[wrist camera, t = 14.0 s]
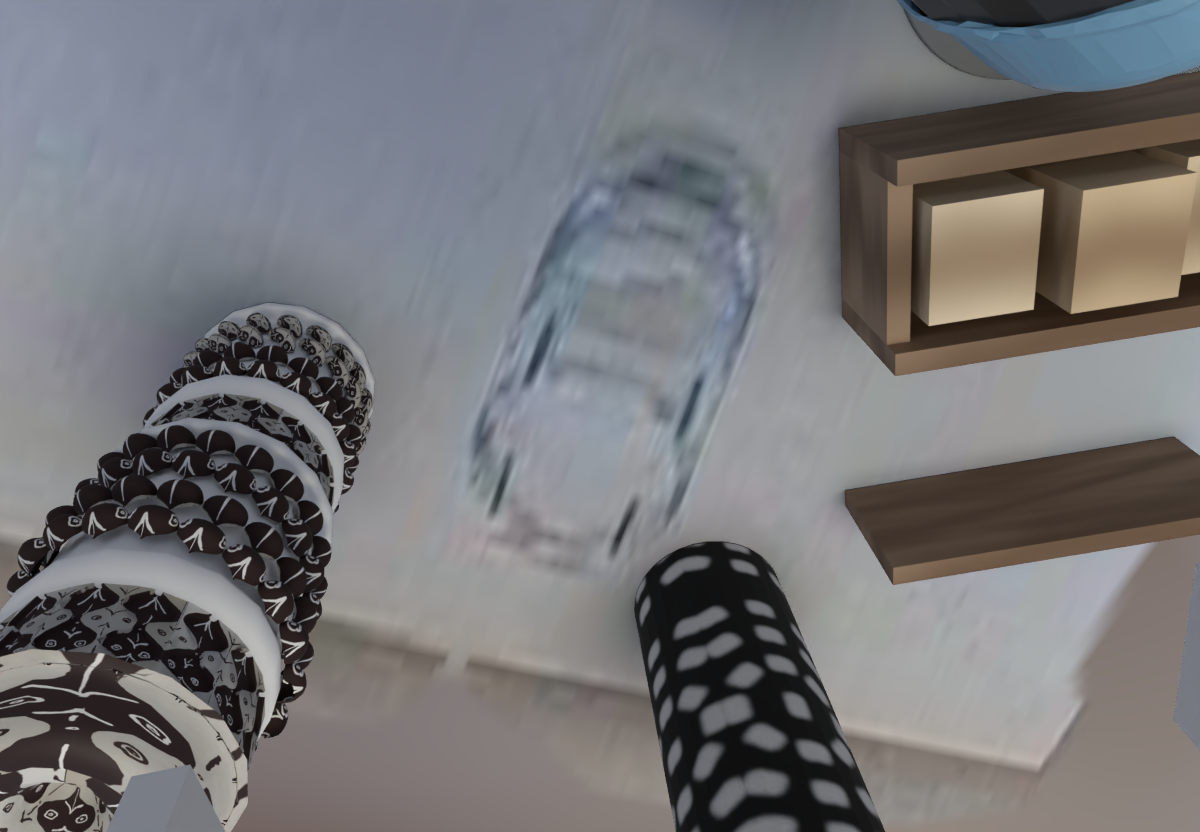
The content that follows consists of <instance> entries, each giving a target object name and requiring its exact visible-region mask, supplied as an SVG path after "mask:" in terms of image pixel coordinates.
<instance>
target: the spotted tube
mask: <svg viewBox="0 0 1200 832" xmlns="http://www.w3.org/2000/svg"><path fill="white" fill-rule="evenodd" d="M634 611H635V617H636V623H637V628H638V633H639V639H640V644H641V649H642V655H643V660H644V665H645V671H646V676H647V681H648V687H649V692H650V697H651V703H652V708H653V713H654V719H655V724H656V729H657V735H658V740H659V745H660V751H661V756H662V761H663V767H664V772H665V777H666V783H667V788H668V793H669V799H670V804H671V809H672V814H673V819H674V825H675V830H676V832H885V830H884V828H883V825H882V823H881V821H880V818H879V816H878V814H877V811H876V809H875V807H874V804H873V802H872V799H871V797H870V795H869V792H868V790H867V788H866V785H865V783H864V781H863V778H862V776H861V774H860V771H859V769H858V767H857V764H856V762H855V759H854V757H853V755H852V752H851V750H850V748H849V745H848V743H847V741H846V738H845V736H844V734H843V731H842V729H841V726H840V724H839V722H838V719H837V717H836V715H835V712H834V710H833V708H832V705H831V703H830V701H829V698H828V696H827V694H826V691H825V689H824V686H823V684H822V682H821V679H820V677H819V675H818V672H817V670H816V668H815V665H814V663H813V661H812V658H811V656H810V653H809V651H808V649H807V646H806V644H805V642H804V639H803V637H802V635H801V632H800V630H799V628H798V625H797V623H796V621H795V618H794V616H793V613H792V611H791V609H790V606H789V604H788V602H787V599H786V597H785V595H784V592H783V590H782V588H781V585H780V583H779V580H778V578H777V576H776V574H775V572H774V570H773V569H772V567H771V566H770V564H769V563H768V562H767V561H766V560H765V559H763V558H762V557H761V556H760V555H759V554H757V553H755V552H754V551H752V550H750V549H748V548H745V547H743V546H740V545H737V544H731V543H725V542H706V543H701V544H695V545H691V546H688V547H685V548H682V549H680V550H677V551H676V552H674V553H672V554H670V555H668V556H666V557H665V558H664V559H662V560H661V561H660V562H659V563H657V564H656V565H655V566H654V567H653V568H652V569H651V570H650V571H649V573H648V574H647V575H646V576H645V578H644V579H643V581H642V583H641V585H640V586H639V589H638V592H637V595H636V598H635V609H634Z"/></svg>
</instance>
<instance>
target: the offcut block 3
mask: <svg viewBox="0 0 1200 832" xmlns="http://www.w3.org/2000/svg"><path fill="white" fill-rule="evenodd" d="M1130 151H1133V152H1136V153H1139V154H1142V155H1145V156H1148V157H1151V158H1154V159H1157V160H1161V161H1164V162H1167V163H1170V164H1173V165H1176V166H1179V167H1182V168H1185V169H1188V170H1191V171H1194V172H1197V179H1196V185H1195V192H1194V198H1193V204H1192V211H1191V217H1190V223H1189V230H1188V236H1187V242H1186V249H1185V255H1184V261H1183V268H1182V274H1181V275H1185V274H1191V273H1198V272H1200V139H1196V140H1189V141H1183V142H1177V143H1170V144H1164V145H1158V146H1151V147H1145V148H1139V149H1133V150H1130Z"/></svg>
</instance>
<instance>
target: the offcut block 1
mask: <svg viewBox="0 0 1200 832" xmlns="http://www.w3.org/2000/svg"><path fill="white" fill-rule="evenodd" d="M1043 195H1044V189H1043V188H1041V187H1039V186H1036V185H1034V184H1032V183H1030V182H1027V181H1025V180H1023V179H1021V178H1019V177H1016V176H1014V175H1012V174H1010V173H1007V172H1005V171H1003V170H1000V171H994V172H988V173H982V174H975V175H969V176H963V177H956V178H950V179H944V180H938V181H931V182H925V183H919V184H913V202H912V258H911V311H912V312H914V313H915V314H916V315H917V316H918V317H919V318H920V319H921V320H922V321H923V322H925V323H926V324H927V325H928V326H933V325H939V324H945V323H952V322H958V321H964V320H970V319H977V318H983V317H989V316H996V315H1002V314H1008V313H1015V312H1021V311H1027V310H1034V299H1035V288H1036V276H1037V265H1038V253H1039V242H1040V230H1041V218H1042V207H1043Z"/></svg>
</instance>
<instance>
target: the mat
mask: <svg viewBox="0 0 1200 832" xmlns="http://www.w3.org/2000/svg"><path fill="white" fill-rule="evenodd" d="M905 12H906V14H907V16H908V18H909V21H910V23H911V25H912V27H913V28H914V30H915V31H916V33H917V34H918V36H919V37H920V39H921V40H922V41H923V43H924V44H925V45H926V46H927V47H928V48H929V49H930V50H931V51H932V52H933V53H934V54H935V55H937V56H938V57H939V58H940V59H941V60H943V61H944V62H946V63H948V64H949V65H951V66H953V67H955V68H956V69H959V70H961V71H964V72H967V73H969V74H972V75H976V76H980V77H985V78H990V79H1004V80H1009V79H1010V78H1006V77H1005V76H1003V75H1001V74H999V73H997V72H996V71H994V70H993V69H992V68H990V67H989V66H987V65H986V64H985V63H983V62H982V61H981V60H980V59H979V58H977V57H976V56H975V55H974V54H972V53H971V52H970V51H969V50H968V49H966V48H965V47H964V46H963V45H961V44H960V43H959V42H958V41H957V40H955V39H954V38H953V37H952V36H950V35H949V34H948V33H945V32H941V31H938V30H936V29H934V28H933V27H932V26H930V25H929V24H928V23H926V22H923V21H919V20H918V19H916V18H915V17H913V16H912V15H911V14H910V13H909V12H907V11H906V10H905Z"/></svg>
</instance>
